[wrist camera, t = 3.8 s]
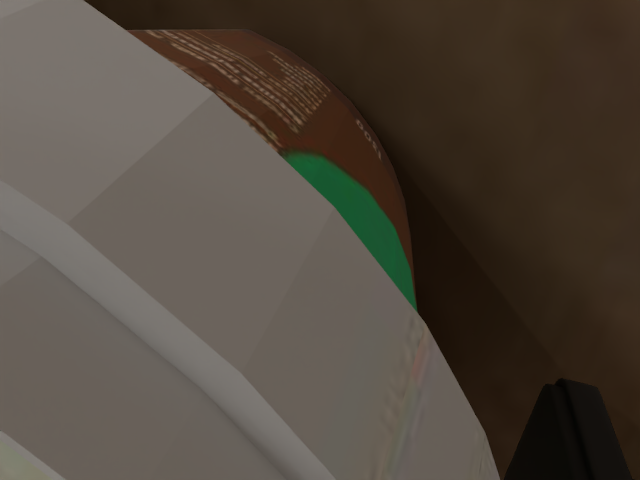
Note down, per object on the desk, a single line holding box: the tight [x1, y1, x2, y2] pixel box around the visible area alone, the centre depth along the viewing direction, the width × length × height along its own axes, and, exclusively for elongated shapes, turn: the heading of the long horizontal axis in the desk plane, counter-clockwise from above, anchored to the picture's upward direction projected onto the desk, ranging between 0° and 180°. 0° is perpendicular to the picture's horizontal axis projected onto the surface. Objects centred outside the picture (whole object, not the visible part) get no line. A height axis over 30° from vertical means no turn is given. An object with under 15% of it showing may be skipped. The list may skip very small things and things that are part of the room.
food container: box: [0, 0, 500, 480], centre depth 9 cm, size 12×6×10 cm, turn 159°
